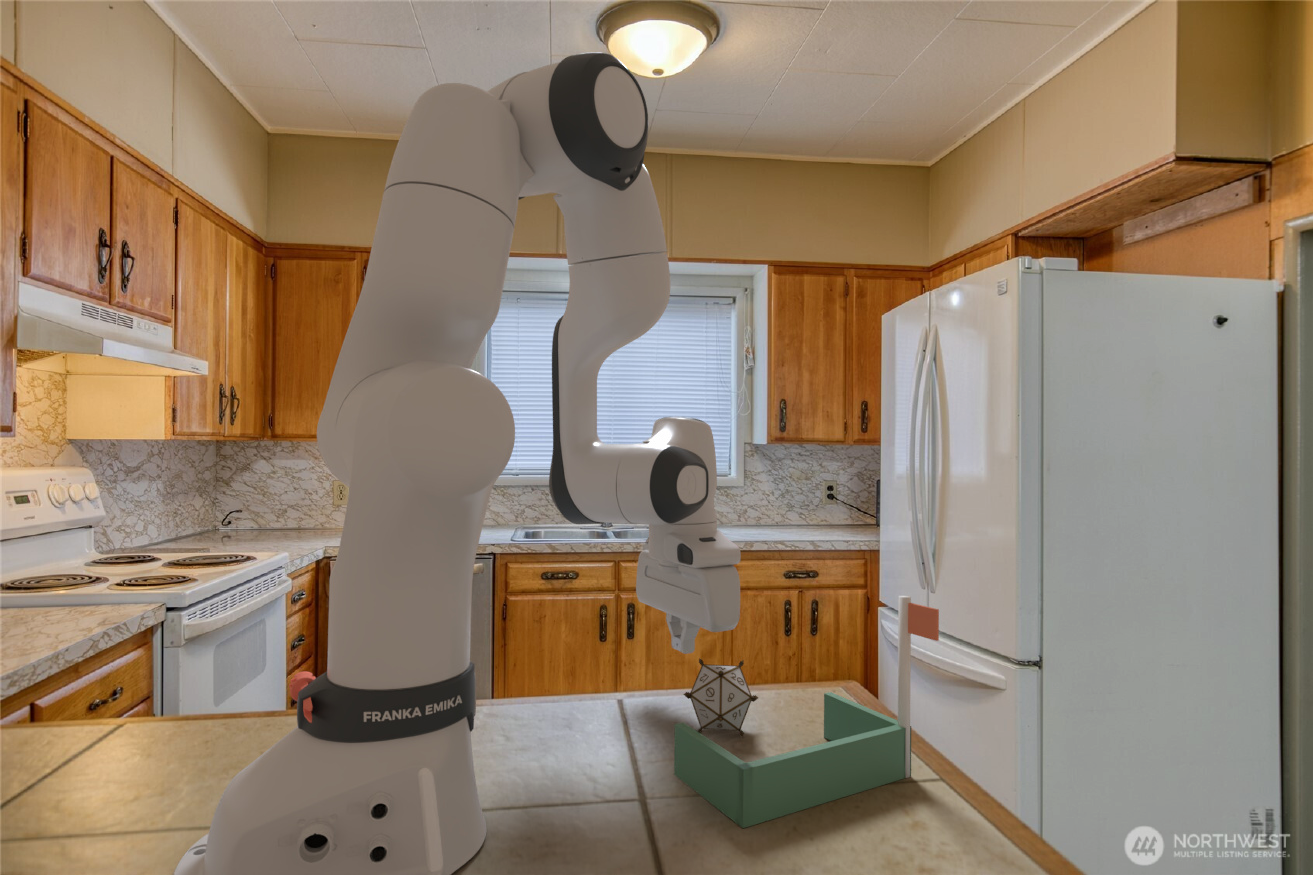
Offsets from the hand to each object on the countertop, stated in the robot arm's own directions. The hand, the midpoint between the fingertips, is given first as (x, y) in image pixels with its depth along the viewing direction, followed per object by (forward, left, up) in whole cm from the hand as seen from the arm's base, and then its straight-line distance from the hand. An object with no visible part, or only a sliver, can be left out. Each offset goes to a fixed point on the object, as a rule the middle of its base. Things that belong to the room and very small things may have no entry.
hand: (682, 650), depth 90 cm
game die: (-1, -9, -7) cm, 12 cm away
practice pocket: (-1, -24, -7) cm, 25 cm away
